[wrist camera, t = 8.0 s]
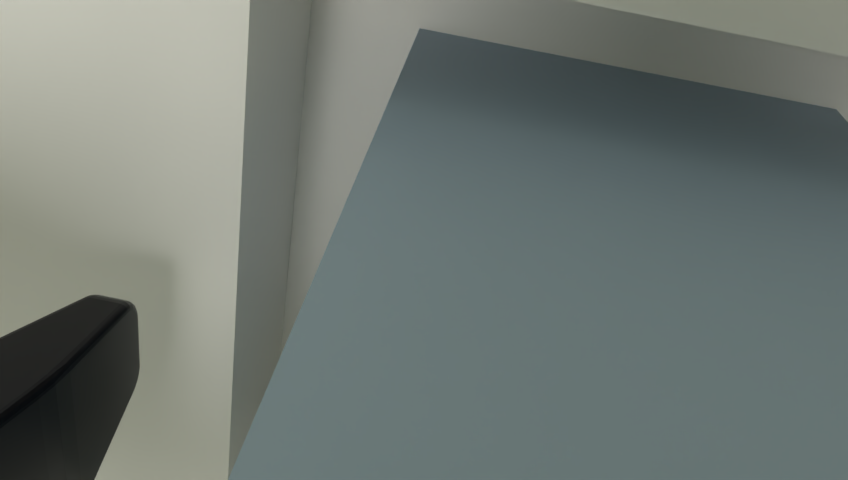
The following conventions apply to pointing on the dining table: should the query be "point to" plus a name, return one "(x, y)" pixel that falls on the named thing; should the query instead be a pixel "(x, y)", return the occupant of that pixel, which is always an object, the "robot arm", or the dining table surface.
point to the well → (274, 161)
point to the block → (572, 285)
